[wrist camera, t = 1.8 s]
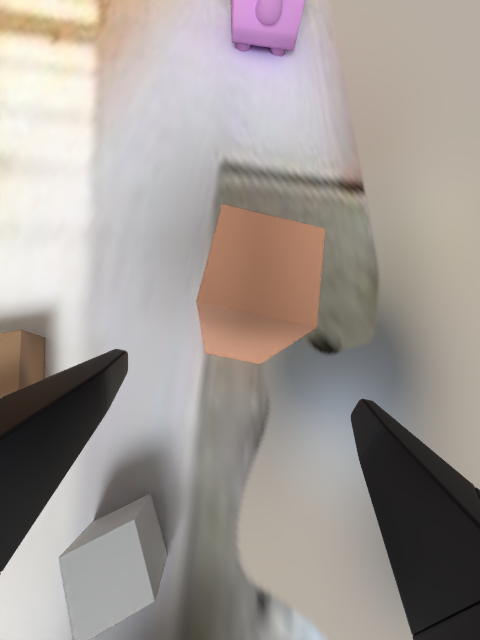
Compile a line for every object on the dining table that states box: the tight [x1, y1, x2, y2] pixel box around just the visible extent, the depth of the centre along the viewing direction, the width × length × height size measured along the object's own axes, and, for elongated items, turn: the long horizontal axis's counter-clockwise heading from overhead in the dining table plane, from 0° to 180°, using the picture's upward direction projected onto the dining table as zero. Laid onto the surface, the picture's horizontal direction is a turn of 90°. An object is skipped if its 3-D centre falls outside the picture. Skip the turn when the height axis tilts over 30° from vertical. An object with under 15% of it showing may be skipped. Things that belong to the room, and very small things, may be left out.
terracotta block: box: [196, 204, 325, 364], centre depth 16 cm, size 5×5×12 cm
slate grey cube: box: [59, 493, 168, 640], centre depth 15 cm, size 4×4×4 cm
